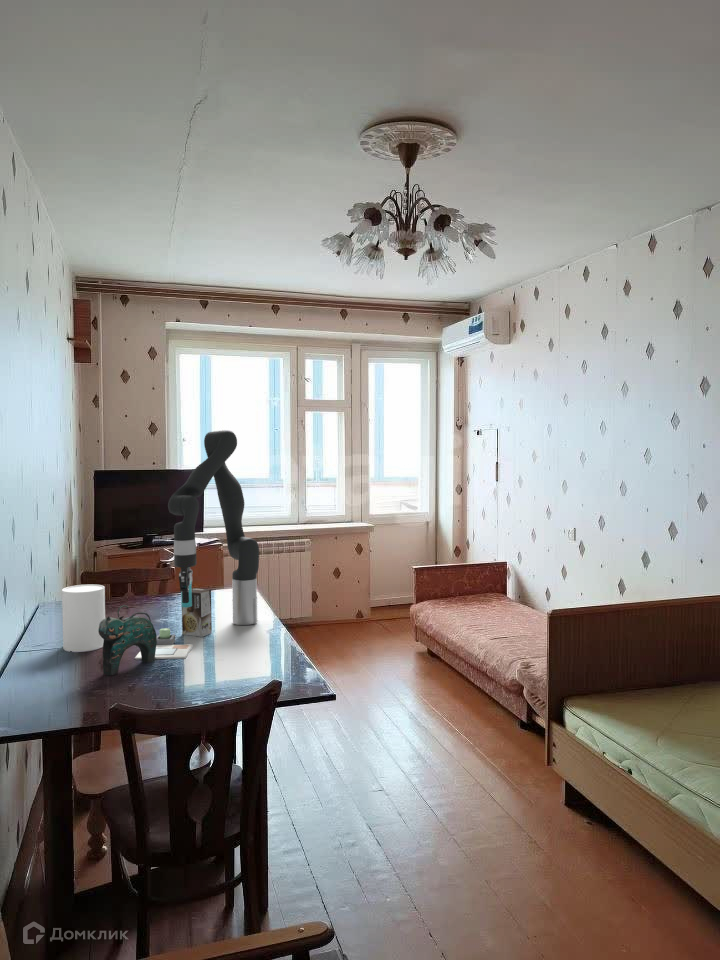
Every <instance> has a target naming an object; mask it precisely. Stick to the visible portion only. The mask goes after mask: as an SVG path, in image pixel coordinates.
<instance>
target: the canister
mask: <svg viewBox="0 0 720 960" xmlns="http://www.w3.org/2000/svg"><path fill="white" fill-rule="evenodd" d="M105 588H106V587H105V586H104V585H102V584H96V583H95V584H93V583H92V584H77V585H71V586H67V587H64V588H62V589H61V596H62V597H61V599H62V601H61V603H62V607H61V610H62V643H63V644H62V645H63V646H62V648H63V650H64V651H66V652H70V651H72V653H79V652H81V653H82V652H91V651H95V650H99V649H101V648H102V649H103V642H104V639H103V638H102V637H101V636H100V635H99V631H98V630H99V624H100V622H101V621H102V620H103V619H105V618H106V595H105V593H106V592H105V591H106V590H105Z"/></svg>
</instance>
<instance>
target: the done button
mask: <svg viewBox="0 0 720 960" xmlns="http://www.w3.org/2000/svg"><path fill="white" fill-rule="evenodd" d="M158 635H159V637H160V639H170V635H171V629H170V628H167V627H166V628H160V629H159V634H158Z"/></svg>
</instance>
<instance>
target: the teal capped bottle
mask: <svg viewBox="0 0 720 960" xmlns="http://www.w3.org/2000/svg"><path fill="white" fill-rule="evenodd" d="M187 583H188V582H187ZM183 588H186V586H183ZM180 601H181V602H180V604H181V608H182V607H191V606H192V586H191V577H190V585H189V602H188V603H183V602H182V592H180Z"/></svg>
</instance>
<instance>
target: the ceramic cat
mask: <svg viewBox="0 0 720 960" xmlns="http://www.w3.org/2000/svg"><path fill="white" fill-rule="evenodd" d="M123 607H125V608H127V610H128V609H129V606H128V605H125V604H124V605H121V606H119V607H118V609H117V618H116V617H110V616H107V617H105V619H103V620H102V621H101V622H100V624H99V630H98V631H99V635H100V636H101V637H102V638H103V639H104V642H103V647H102V672H103V673H102V674H103V675H105V674H106V675H105V676H109V675H110V677H112V676H116V675H118V674H119V670H120V669H119V668H120V663H121V660H122V658H123V655H124V654H125V652H126V650H127V649H129V648H131V647H133V646H136V647H137V648H139V652H140V651H141V657H142V659H141V662H142V663H145V664H149V663H153V662H155V660H156V659H155V652H156V645H157V631H156V629H155V627H154V625H153V623H152V620H151V618H150V617H151V616H150V615H149V613H147V612H135V613H134V614H132V615H130V616H128V617H126V618H124V615H122V616H121V615H120V614H119V612H120V610H121V609H122V608H123ZM136 615H145V616H147V617H148V618H146V617H143V616H142V617H141V616H136ZM111 675H112V676H111Z"/></svg>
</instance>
